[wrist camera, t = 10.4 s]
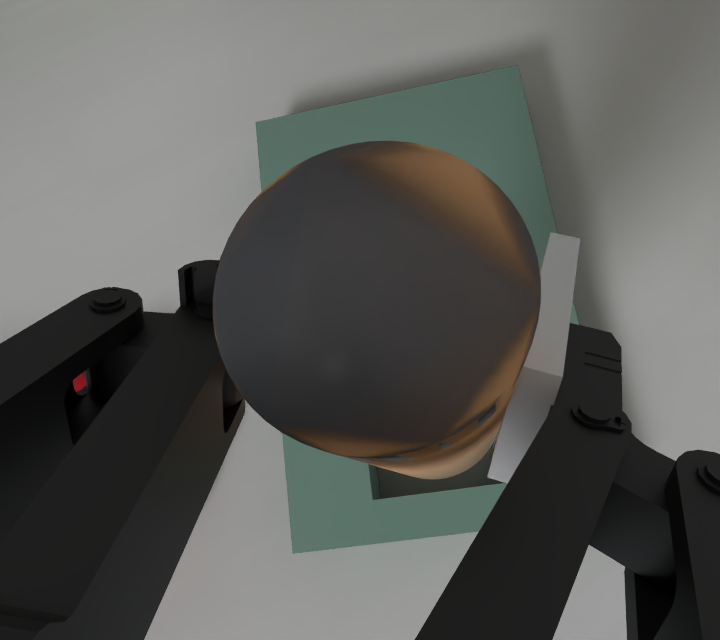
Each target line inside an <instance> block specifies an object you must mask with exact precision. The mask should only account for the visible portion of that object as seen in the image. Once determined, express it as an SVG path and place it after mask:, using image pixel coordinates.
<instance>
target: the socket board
mask: <svg viewBox="0 0 720 640" xmlns="http://www.w3.org/2000/svg"><path fill="white" fill-rule="evenodd" d="M256 132H257V143H258V155H259V166H260V178H261V190H262V191H263V190H264V189H265V188H267V187H268V186H269V185H270V184H271V183H272V182H273V181H275V180H276V179H277V178H278V177H279V176H281V175H282V174H284V173H285V172H287V171H288V170H290V169H291V168H293V167H294V166H296V165H298V164H299V163H301V162H303V161H305V160H307V159H309V158H311V157H313V156H315V155H318V154H320V153H323V152H325V151H328V150H330V149H334V148H338V147H341V146H345V145H349V144H355V143H361V142H368V141H401V142H411V143H416V144H421V145H425V146H430V147H433V148H436V149H439V150H442V151H444V152H447V153H450V154H452V155H454V156H456V157H458V158H460V159H462V160H464V161H466V162H468V163H469V164H471V165H472V166H474V167H475V168H477V169H478V170H480V171H481V172H483V173H484V174H485V175H486V176H487V177H488V178H490V179H491V180H492V181H493V182H494V183H495V184H496V185H498V186H499V187H500V189H501V190H502V191H503V192H504V193H505V194H506V196H507V197H508V198H509V199H510V200H511V201H512V203H513V204H514V206H515V207H516V209H517V210H518V212H519V214H520V215H521V217H522V218H523V220H524V222H525V224H526V227H527V229H528V231H529V233H530V235H531V237H532V240H533V244H534V247H535V250H536V254H537V257H538V263H539V270H541V266H542V262H543V259H544V255H545V251H546V248H547V244H548V240H549V237H550V233H551V232H552V233H557V229H556V225H555V221H554V217H553V212H552V208H551V204H550V200H549V195H548V191H547V187H546V183H545V178H544V174H543V170H542V166H541V161H540V157H539V153H538V149H537V144H536V140H535V136H534V132H533V128H532V123H531V119H530V115H529V111H528V106H527V102H526V98H525V94H524V89H523V85H522V81H521V77H520V72H519V68H518V65H516V66H511V67H507V68H502V69H498V70H493V71H488V72H484V73H479V74H475V75H470V76H466V77H461V78H456V79H452V80H447V81H443V82H438V83H433V84H429V85H424V86H420V87H415V88H411V89H406V90H401V91H397V92H392V93H388V94H383V95H378V96H374V97H369V98H365V99H360V100H356V101H351V102H346V103H342V104H337V105H333V106H328V107H323V108H319V109H314V110H310V111H305V112H301V113H296V114H291V115H287V116H282V117H278V118H273V119H268V120H264V121H259V122H256ZM570 323H573V324H577V325H579V323H578V319H577V314H576V310H575V306H574V302H573V301H572V309H571V317H570ZM282 434H283V433H282ZM283 445H284V457H285V469H286V480H287V492H288V503H289V515H290V527H291V538H292V550H293V554H294V553H302V552H310V551H319V550H327V549H335V548H344V547H352V546H360V545H369V544H377V543H385V542H394V541H402V540H410V539H419V538H427V537H435V536H444V535H452V534H460V533H469V532H477V531H480V529H481V527H482V526H483V524H484V522H485V521H486V519H487V517H488V516H489V514H490V512H491V511H492V509H493V507H494V505H495V504H496V502H497V500H498V499H499V497H500V495H501V494H502V492H503V490H504V489H505V487H506V485H507V483H500V484H493V485H485V486H477V487H469V488H462V489H454V490H446V491H439V492H431V493H423V494H415V495H408V496H400V497H392V498H385V499H381V498H380V490H379V482H378V474H377V467H376V466H374V465H370V464H367V463H363V462H360V461H356V460H353V459H349V458H346V457H342V456H339V455H335V454H332V453H328V452H325V451H322V450H319V449H316V448H313V447H310V446H308V445H305V444H302V443H300V442H298V441H297V440H295V439H293V438H291V437H289V436H287V435H285V434H283Z"/></svg>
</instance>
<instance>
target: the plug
mask: <svg viewBox="0 0 720 640" xmlns="http://www.w3.org/2000/svg"><path fill="white" fill-rule="evenodd" d="M540 304H541V276H540V270H539V263H538V257H537V254H536V250H535V247H534V244H533V240H532V237H531V235H530V233H529V231H528V229H527V227H526V224H525V222H524V220H523V218H522V217H521V215H520V214H519V212H518V210H517V209H516V207H515V206H514V204H513V203H512V201H511V200H510V199H509V198H508V197H507V196H506V194H505V193H504V192H503V191H502V190H501V189H500V187H499V186H498V185H496V184H495V183H494V182H493V181H492V180H491V179H490V178H488V177H487V176H486V175H485V174H484V173H483V172H481V171H480V170H478V169H477V168H475V167H474V166H472V165H471V164H469V163H468V162H466V161H464V160H462V159H460V158H458V157H456V156H454V155H452V154H450V153H447V152H444V151H442V150H439V149H436V148H433V147H430V146H425V145H421V144H416V143H411V142H401V141H368V142H361V143H355V144H349V145H345V146H341V147H338V148H334V149H330V150H328V151H325V152H323V153H320V154H318V155H315V156H313V157H311V158H309V159H307V160H305V161H303V162H301V163H299V164H298V165H296V166H294V167H293V168H291V169H290V170H288V171H287V172H285V173H284V174H282V175H281V176H279V177H278V178H277V179H276V180H275V181H273V182H272V183H271V184H270V185H269V186H268V187H267V188H265V189H264V190H263V191H262V192H261V193H260V194H259V195H258V197H257V198H256V199H255V200H254V201H253V202H252V203H251V204H250V205H249V207H248V208H247V209H246V211H245V212H244V214H243V215H242V216H241V218H240V219H239V221H238V222H237V224H236V226H235V228H234V229H233V231H232V233H231V235H230V237H229V238H228V241H227V243H226V246H225V248H224V250H223V253H222V255H221V258H220V262H219V266H218V269H217V273H216V277H215V285H214V292H213V322H214V330H215V337H216V340H217V344H218V348H219V352H220V355H221V358H222V360H223V362H224V365H225V367H226V370H227V372H228V374H229V376H230V378H231V379H232V381H233V383H234V384H235V386H236V388H237V390H238V391H239V392H240V394H241V395H242V396H243V397H244V399H245V400H246V401H247V402H248V404H249V405H250V406H251V407H252V408H253V409H254V410H255V411H256V412H257V413H258V414H259V415H260V416H261V417H262V418H263V419H264V420H265V421H266V422H268V423H269V424H271V425H272V426H273V427H275V428H276V429H278V430H279V431H280V432H282V433H283V434H285V435H287V436H289V437H291V438H293V439H295V440H297V441H298V442H300V443H302V444H305V445H308V446H310V447H313V448H316V449H319V450H322V451H325V452H328V453H332V454H335V455H339V456H342V457H346V458H349V459H353V460H356V461H360V462H363V463H367V464H370V465H374V466H377V467H381V468H384V469H388V470H391V471H395V472H398V473H401V474H405V475H408V476H412V477H416V478H421V479H443V478H448V477H452V476H455V475H458V474H460V473H462V472H464V471H466V470H468V469H470V468H471V467H472V466H474V465H475V464H476V463H478V462H479V461H480V460H481V459H482V458H483V457H484V455H485V454H486V453H487V452H488V451H489V449H490V447H491V446H492V444H493V442H494V440H495V438H496V436H497V433H498V431H499V428H500V425H501V421H502V418H503V416H504V413H505V410H506V408H507V405H508V403H509V401H510V398H511V396H512V394H513V391H514V389H515V387H516V384H517V381H518V379H519V376H520V374H521V371H522V368H523V366H524V363H525V361H526V358H527V355H528V353H529V350H530V348H531V345H532V342H533V338H534V335H535V331H536V328H537V324H538V319H539V312H540Z"/></svg>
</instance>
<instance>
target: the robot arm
mask: <svg viewBox="0 0 720 640" xmlns="http://www.w3.org/2000/svg"><path fill="white" fill-rule="evenodd" d="M579 247H580V238H576V237H571V236H566V235H562V234H557V233H552V232H551V233H550V237H549V240H548V244H547V248H546V251H545V255H544V259H543V262H542V266H541V270H540V276H541V304H540V312H539V319H538V324H537V328H536V331H535V335H534V338H533V342H532V345H531V348H530V350H529V353H528V355H527V358H526V361H525V363H524V366H523V368H522V371H521V374H520V376H519V379H518V381H517V384H516V387H515V389H514V391H513V394H512V396H511V398H510V401H509V403H508V405H507V408H506V410H505V413H504V416H503V418H502V421H501V425H500V429H499V433H498V437H497V441H496V445H495V449H494V453H493V457H492V461H491V465H490V469H489V473H488V478H491V479H494V480H497V481H501V482H504V483H507V485H506V487H505V489H504V490H503V492H502V494H501V495H500V497H499V499H498V500H497V502H496V504H495V505H494V507H493V509H492V511H491V512H490V514H489V516H488V517H487V519H486V521H485V522H484V524H483V526H482V527H481V529H480V531H479V532H478V534H477V536H476V537H475V539H474V541H473V543H472V544H471V546H470V548H469V549H468V551H467V553H466V554H465V556H464V558H463V559H462V561H461V563H460V564H459V566H458V568H457V570H456V571H455V573H454V575H453V576H452V578H451V580H450V581H449V583H448V585H447V586H446V588H445V590H444V591H443V593H442V595H441V596H440V598H439V600H438V602H437V603H436V605H435V607H434V608H433V610H432V612H431V613H430V615H429V617H428V618H427V620H426V622H425V623H424V625H423V627H422V628H421V630H420V632H419V634H418V635H417V637H416V639H415V640H552V639H553V636H554V634H555V631H556V628H557V626H558V623H559V621H560V618H561V615H562V613H563V610H564V608H565V605H566V602H567V600H568V597H569V595H570V592H571V589H572V587H573V584H574V581H575V579H576V576H577V574H578V571H579V568H580V566H581V563H582V561H583V558H584V555H585V553H586V550H587V548H588V545H591V546H592V547H594V548H596V549H597V550H599V551H601V552H602V553H604V554H605V555H607V556H609V557H610V558H612V559H614V560H615V561H617V562H619V563H620V564H622V565H623V566H625V571H624V574H625V598H626V623H627V640H720V454H718V453H715V452H709V451H703V450H694V451H687V452H685V453H683V454H682V455H681V456H680V457H678V459H677V461H674V460H672V459H670V458H668V457H666V456H664V455H662V454H660V453H658V452H656V451H655V450H653V449H651V448H649V447H648V446H646V445H645V444H643V443H642V442H641V441H639V440H638V439H637V438H636V437H635V436H634V435H633V434H632V433H631V422H630V420H629V419H628V417H627V415H626V414H625V413H624V412H623V411H622V375H621V372H622V366H621V346H620V345H619V343H618V342H617V341H616V339H615V338H614V336H613V335H612V333H609V332H605V331H601V330H597V329H593V328H589V327H585V326H581V325H577V324H573V323H570V317H571V309H572V301H573V293H574V286H575V278H576V270H577V262H578V254H579ZM219 262H220V260H204V261H196V262H193V263H190V264H187V265H184V266H183V267H182V268H180V269H179V270H178V278H179V292H180V307H179V309H178V310H177V311H176V313H175V314H174V313H156V312H143V304H142V298H141V297H140V296H139V294H138V293H135V292H133V291H131V290H129V289H123V288H118V287H112V288H111V287H107V288H102V289H98V290H93V291H91V292H88V293H86V294H84V295H81V296H80V297H78V298H76V299H75V300H73V301H71V302H70V303H68V304H66V305H65V306H63V307H61V308H60V309H58V310H56V311H54V312H53V313H51V314H49V315H48V316H46V317H44V318H43V319H41V320H39V321H38V322H36V323H34V324H33V325H31V326H29V327H28V328H26V329H24V330H23V331H21V332H19V333H18V334H16V335H14V336H12V337H11V338H9V339H7V340H6V341H4V342H2V343H1V344H0V640H144V638H145V636H146V634H147V632H148V629H149V627H150V625H151V623H152V620H153V618H154V616H155V614H156V611H157V609H158V607H159V605H160V602H161V600H162V598H163V596H164V593H165V591H166V589H167V587H168V584H169V582H170V580H171V578H172V575H173V573H174V571H175V569H176V566H177V564H178V562H179V560H180V557H181V555H182V553H183V551H184V548H185V546H186V544H187V542H188V539H189V537H190V535H191V533H192V530H193V528H194V526H195V524H196V521H197V519H198V517H199V515H200V512H201V510H202V508H203V506H204V503H205V501H206V499H207V497H208V494H209V492H210V490H211V488H212V485H213V483H214V481H215V479H216V476H217V474H218V472H219V470H220V467H221V465H222V463H223V461H224V459H225V456H226V454H227V452H228V450H229V447H230V445H231V443H232V441H233V438H234V436H235V434H236V432H237V429H238V427H239V425H240V423H241V420H242V418H243V416H244V412H245V399H244V397H243V396H242V395H241V394H240V392H239V391H238V390H237V388H236V386H235V384H234V383H233V381H232V379H231V378H230V376H229V374H228V372H227V370H226V367H225V365H224V362H223V360H222V358H221V355H220V352H219V348H218V344H217V340H216V337H215V330H214V322H213V292H214V285H215V277H216V273H217V269H218V266H219ZM83 372H84V374H85V379H86V386H85V387H84V388H82V389H81V390H79V391H77V392H76V391H75V389H74V385H73V380H74V379H75V378H76V377H78V376H79V375H80V374H82V373H83Z"/></svg>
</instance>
